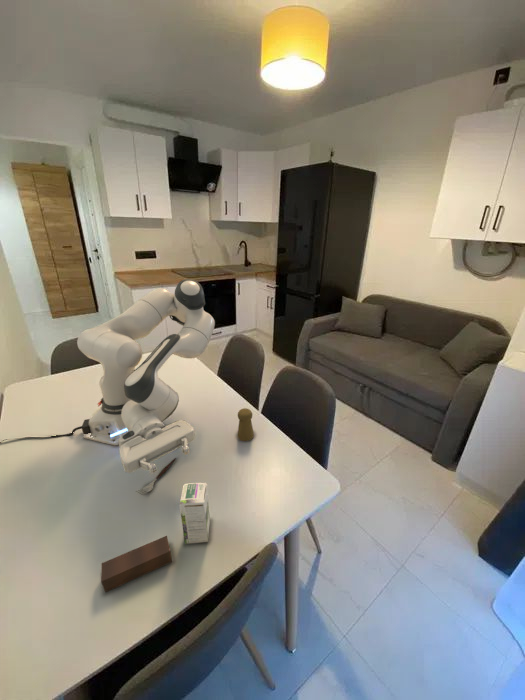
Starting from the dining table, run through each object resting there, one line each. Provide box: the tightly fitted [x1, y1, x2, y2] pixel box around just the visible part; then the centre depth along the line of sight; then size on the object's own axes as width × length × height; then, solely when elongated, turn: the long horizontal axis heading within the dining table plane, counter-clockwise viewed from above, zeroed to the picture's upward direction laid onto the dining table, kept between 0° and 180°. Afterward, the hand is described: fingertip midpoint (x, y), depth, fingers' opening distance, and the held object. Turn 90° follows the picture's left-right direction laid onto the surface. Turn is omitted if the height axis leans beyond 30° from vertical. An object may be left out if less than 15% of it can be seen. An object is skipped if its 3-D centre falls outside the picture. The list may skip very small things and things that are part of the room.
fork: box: [135, 457, 177, 495], centre depth 89 cm, size 3×16×2 cm, turn 156°
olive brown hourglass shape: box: [237, 407, 255, 442], centre depth 104 cm, size 6×6×11 cm
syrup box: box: [179, 482, 211, 545], centre depth 71 cm, size 6×6×14 cm
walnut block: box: [100, 535, 173, 593], centre depth 66 cm, size 14×4×4 cm, turn 116°
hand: (171, 460), depth 76 cm, fingers open, 8 cm apart
